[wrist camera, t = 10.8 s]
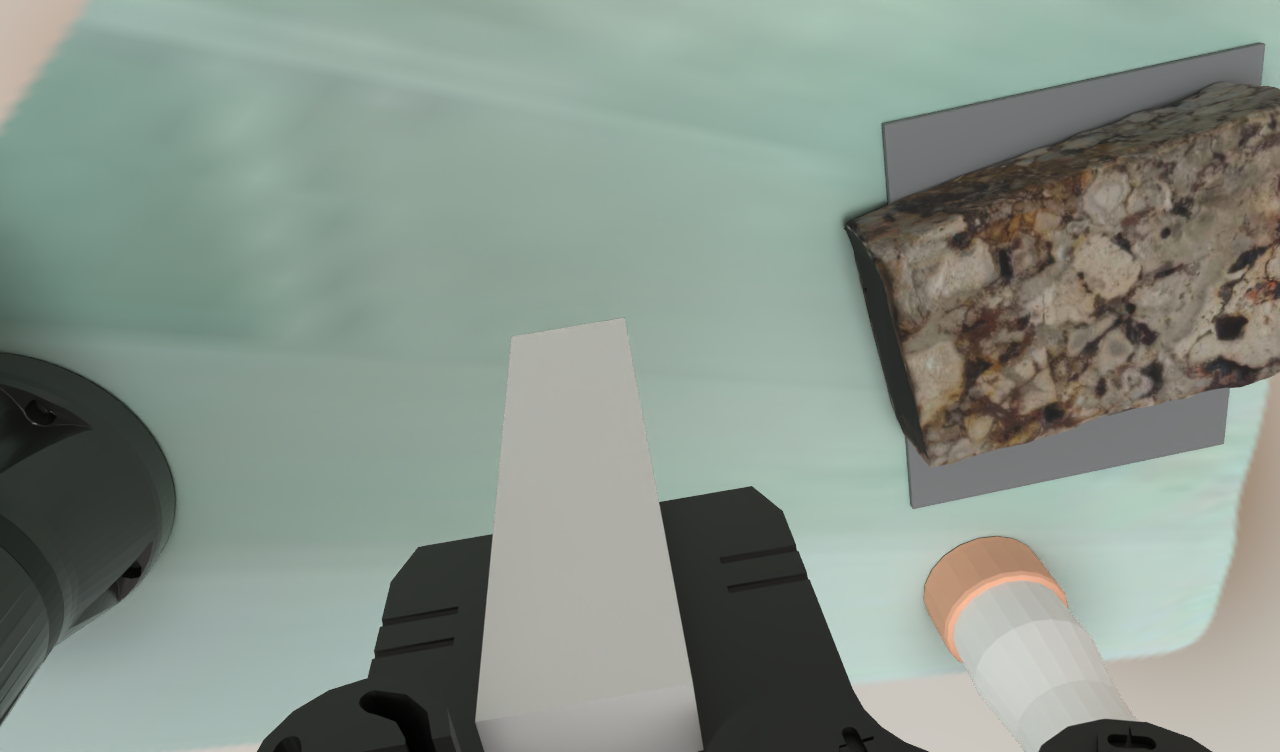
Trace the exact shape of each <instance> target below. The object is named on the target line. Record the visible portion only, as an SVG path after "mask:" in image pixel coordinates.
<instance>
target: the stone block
mask: <svg viewBox="0 0 1280 752" xmlns="http://www.w3.org/2000/svg"><path fill="white" fill-rule="evenodd" d="M844 229H845V230H846V232H847V234H848V236H849V239H850V241H851V244H852V247H853V249H854V254H855V259H856V264H857V267H858V271H859V275H860V281H861V285H862V288H863V292H864V296H865V300H866V305H867V309H868V313H869V318H870V322H871V326H872V330H873V334H874V338H875V342H876V345H877V349H878V353H879V356H880V360H881V364H882V367H883V371H884V375H885V379H886V382H887V386H888V391H889V395H890V399H891V403H892V406H893V409H894V411H895V414H896V417H897V420H898V421H899V423H900V426H901V429H902V431H903V433H904V435H905V436H906V437H907V438H908V439H909V441H910V442H911V444H912V445H913V446H914V447H915V449H916V450H917V452H918V454H919V455H920V456H921V457H922V459H923V460H924V461H925V462H926V463H927V464H928V465H929V467H935V466H943V465H948V464H952V463H956V462H959V461H961V460H963V459H966V458H969V457H973V456H977V455H980V454H983V453H987V452H990V451H994V450H998V449H1001V448H1007V447H1012V446H1015V445H1023V444H1026V443H1029V442H1032V441H1034V440H1037V439H1040V438H1044V437H1048V436H1052V435H1056V434H1059V433H1062V432H1065V431H1069V430H1072V429H1074V428H1076V427H1078V426H1080V425H1082V424H1083V423H1087V422H1090V421H1093V420H1095V419H1097V418H1100V417H1102V416H1110V415H1114V414H1117V413H1121V412H1124V411H1127V410H1131V409H1137V408H1144V407H1149V406H1153V405H1159V404H1162V403H1165V402H1168V401H1173V400H1179V399H1187V398H1189V397H1191V396H1194V395H1196V394H1199V393H1201V392H1205V391H1210V390H1214V389H1221V388H1235V387H1242V386H1246V385H1249V384H1252V383H1254V382H1257V381H1259V380H1263V379H1267V378H1270V377H1272V376H1274V375H1276V374H1278V373H1280V89H1278V88H1275V87H1269V86H1258V85H1252V84H1244V83H1242V84H1237V85H1236V84H1233V83H1229V82H1220V83H1215V84H1212V85H1210V86H1208V87H1206V88H1204V89H1202V90H1200V91H1199V92H1198V93H1196V94H1195V95H1192V96H1190V97H1188V98H1186V99H1185V100H1183V101H1181V102H1178V103H1174V104H1171V105H1167V106H1163V107H1159V108H1155V109H1151V110H1147V111H1143V112H1139V113H1134V114H1132V115H1130V116H1128V117H1126V118H1124V119H1122V120H1121V121H1119V122H1116V123H1114V124H1110V125H1107V126H1104V127H1101V128H1098V129H1095V130H1090V131H1086V132H1082V133H1079V134H1076V135H1074V136H1072V137H1071V138H1069V139H1068V140H1067V141H1065V142H1063V143H1060V144H1057V145H1054V146H1050V147H1044V148H1039V149H1035V150H1033V151H1030V152H1028V153H1026V154H1023V155H1021V156H1019V157H1017V158H1014V159H1010V160H1007V161H1003V162H1000V163H998V164H995V165H992V166H989V167H986V168H983V169H981V170H978V171H975V172H971V173H968V174H965V175H962V176H960V177H958V178H956V179H954V180H952V181H949V182H947V183H944V184H942V185H939V186H937V187H934V188H932V189H930V190H927V191H925V192H921V193H916V194H913V195H910V196H908V197H905V198H903V199H901V200H899V201H897V202H895V203H892V204H890V205H887V206H884V207H882V208H880V209H878V210H875V211H873V212H870V213H868V214H866V215H863V216H861V217H858V218H856V219H852V220H850V221H849V222H848V223H847V224H846V225H845V228H844Z"/></svg>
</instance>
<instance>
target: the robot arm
mask: <svg viewBox="0 0 1280 752" xmlns="http://www.w3.org/2000/svg"><path fill="white" fill-rule="evenodd" d="M174 514H175V493H174V487H173V482H172V478H171V474H170V471H169V468H168V466H167V463H166V461H165V459H164V456H163V454H162V453H161V451H160V449H159V447H158V445H157V444H156V442H155V441H154V439H153V438H152V436H151V435H150V434H149V432H148V431H147V430H146V428H145V427H144V426H143V425H142V424H141V422H140V421H139V420H138V419H137V418H136V417H135V416H134V415H133V414H132V413H131V412H130V411H129V410H128V409H127V408H126V407H125V406H123V405H122V404H121V403H120V402H119V401H117V400H116V399H115V398H114V397H112V396H111V395H110V394H108V393H107V392H105V391H104V390H103V389H101V388H99V387H98V386H96V385H95V384H93V383H91V382H90V381H88V380H86V379H84V378H82V377H80V376H78V375H76V374H74V373H72V372H70V371H68V370H65V369H63V368H60V367H58V366H55V365H52V364H49V363H46V362H43V361H40V360H36V359H32V358H28V357H23V356H18V355H12V354H5V353H0V727H1V725H2V724H3V722H4V721H5V719H6V718H7V716H8V715H9V713H10V712H11V710H12V709H13V707H14V706H15V704H16V703H17V701H18V700H19V698H20V697H21V695H22V694H23V692H24V691H25V689H26V688H27V686H28V684H29V683H30V681H31V680H32V678H33V677H34V675H35V674H36V672H37V671H38V669H39V668H40V666H41V665H42V663H43V662H44V660H45V659H46V657H47V656H48V655H49V653H50V652H51V650H52V649H53V648H54V647H55V646H56V645H58V644H59V643H61V642H62V641H63V640H65V639H66V638H68V637H69V636H71V635H72V634H74V633H75V632H77V631H78V630H80V629H81V628H82V627H84V626H85V625H87V624H88V623H90V622H91V621H93V620H94V619H96V618H97V617H99V616H100V615H101V614H103V613H104V612H106V611H107V610H109V609H110V608H112V607H113V606H115V605H116V604H118V603H119V602H120V601H122V600H123V599H124V598H125V597H127V596H128V595H129V594H130V593H131V592H132V591H133V590H134V589H135V588H136V587H137V586H138V585H139V584H140V582H141V581H142V580H143V579H144V578H145V576H146V575H147V573H148V572H149V570H150V569H151V567H152V566H153V564H154V562H155V561H156V559H157V558H158V556H159V554H160V553H161V551H162V550H163V548H164V546H165V544H166V542H167V540H168V538H169V535H170V532H171V529H172V526H173V521H174ZM382 622H383V627H380V629H379V633H378V637H377V642H376V646H375V650H374V652H375V659H372V662H371V666H370V671H369V675H368V679H364V680H360V681H357V682H354V683H351V684H348V685H344V686H341V687H338V688H335V689H332V690H329V691H327V692H325V693H324V694H322V695H320V696H318V697H317V698H315V699H313V700H312V701H310V702H308V703H307V704H305V705H303V706H302V707H300V708H298V709H296V710H295V711H293V712H292V713H291V714H290V715H289V716H288V717H287V718H286V719H285V720H284V721H283V722H282V723H281V724H280V725H279V726H278V727H277V728H276V729H274V730H273V731H272V732H271V733H270V734H269V735H268V736H267V737H266V738H265V739H264V740H263V742H262V744H261V746H260V747H259V749H258V751H257V752H928V751H926V750H923V749H921V748H918V747H916V746H913V745H911V744H908V743H906V742H904V741H902V740H901V739H899V738H898V737H896V736H895V735H893V734H892V733H890V732H889V731H887V730H885V729H884V728H882V727H881V726H880V725H879V724H878V723H877V722H876V721H875V720H874V719H873V718H872V717H871V716H870V715H869V714H868V713H867V712H866V711H865V710H864V708H863V707H862V705H861V703H860V701H859V700H858V698H857V696H856V694H855V693H854V691H853V689H852V686H851V684H850V681H849V679H848V676H847V674H846V671H845V668H844V666H843V663H842V661H841V658H840V656H839V653H838V651H837V648H836V646H835V643H834V641H833V638H832V635H831V633H830V630H829V628H828V625H827V623H826V620H825V618H824V615H823V613H822V610H821V607H820V605H819V602H818V600H817V597H816V595H815V592H814V590H813V587H812V585H811V582H810V580H808V577H807V572H806V569H805V567H804V564H803V562H802V559H801V557H800V554H799V552H798V551H797V549H796V544H795V541H794V539H793V536H792V534H791V531H790V529H789V526H788V524H787V521H786V519H785V516H784V513H783V511H782V510H781V509H779V508H778V507H777V506H776V505H774V504H773V503H772V502H771V501H770V500H768V499H767V498H766V497H765V496H763V495H762V494H761V493H760V492H758V491H757V490H756V489H755V488H753V487H752V486H750V487H744V488H739V489H733V490H727V491H721V492H715V493H710V494H704V495H698V496H692V497H686V498H681V499H675V500H669V501H663V502H659V500H658V494H657V489H656V484H655V478H654V473H653V468H652V462H651V457H650V451H649V446H648V441H647V435H646V430H645V425H644V419H643V414H642V409H641V403H640V398H639V392H638V387H637V382H636V376H635V371H634V366H633V360H632V355H631V350H630V344H629V339H628V334H627V328H626V323H625V317H624V318H618V319H612V320H606V321H601V322H595V323H589V324H583V325H577V326H571V327H565V328H559V329H553V330H548V331H542V332H536V333H530V334H524V335H518V336H512V338H511V348H510V359H509V369H508V380H507V390H506V401H505V412H504V422H503V433H502V443H501V454H500V464H499V475H498V486H497V496H496V507H495V517H494V528H493V534H491V535H485V536H480V537H474V538H468V539H462V540H456V541H451V542H445V543H439V544H433V545H427V546H422V547H418V548H417V549H416V551H415V552H414V553H413V555H412V556H411V557H410V558H409V560H408V561H407V562H406V563H405V565H404V566H403V567H402V569H401V570H400V571H399V572H398V574H397V575H396V576H395V578H394V579H393V580H392V581H391V584H390V588H389V592H388V596H387V600H386V604H385V609H384V613H383V617H382ZM1038 752H1212V751H1210V750H1209V749H1207V748H1206V747H1204V746H1203V745H1201V744H1199V743H1198V742H1196V741H1195V740H1193V739H1192V738H1189V737H1187V736H1184V735H1181V734H1178V733H1175V732H1173V731H1170V730H1167V729H1164V728H1162V727H1158V726H1156V725H1153V724H1150V723H1147V722H1137V721H1126V720H1115V719H1100V720H1095V721H1091V722H1086V723H1081V724H1077V725H1072V726H1068V727H1066V728H1065V729H1063V730H1062V731H1061V732H1059V733H1058V734H1056V735H1055V736H1054V737H1052V738H1051V739H1049V740H1048V741H1046V742H1045V743H1044V744H1042V745H1041V747H1040V749H1039V751H1038Z"/></svg>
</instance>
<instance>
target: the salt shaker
mask: <svg viewBox="0 0 1280 752" xmlns="http://www.w3.org/2000/svg"><path fill="white" fill-rule="evenodd" d="M924 602H925V605H926V608H927V611H928V613H929V615H930V617H931V619H932V621H933V623H934V625H935V626H936V628H937V630H938V632H939V634H940V636H941V637H942V639H943V641H944V643H945V645H946V647H947V648H948V650H949V651H950V652H951V654H952V655H953V656H954V657H955V658H956V659H957V660H958V661H959V662H961V663H963V664H964V666H965V668H966V670H967V672H968V674H969V676H970V678H971V679H972V682H973V684H974V685H975V688H976V689H977V692H978V693H979V695H980V696H981V698H982V699H983V700H984V701H985V703H986V704H987V705H988V706H989V708H990V709H991V710H992V711H993V712H994V714H995V715H996V716H997V717H998V719H999V720H1000V721H1001V722H1002V723H1003V725H1004V726H1005V727H1006V728H1007V730H1008V731H1009V732H1010V733H1011V735H1012V736H1013V737H1014V738H1015V740H1016V741H1017V742H1018V743H1019V744H1020V746H1021V748H1022V749H1023V751H1024V752H1038V751H1039V749H1040V747H1041V745H1042V744H1044V743H1045V742H1046V741H1048V740H1049V739H1051V738H1052V737H1054V736H1055V735H1056V734H1058V733H1059V732H1061V731H1062V730H1063V729H1065V728H1066V727H1068V726H1072V725H1077V724H1081V723H1086V722H1091V721H1095V720H1100V719H1115V720H1126V721H1137V722H1139V721H1138V720H1137V719H1136V717H1135V716H1134V715H1133V713H1132V712H1131V711H1130V709H1129V708H1128V706H1127V705H1126V703H1125V702H1124V701H1123V699H1122V698H1121V696H1120V694H1119V692H1118V690H1117V688H1116V686H1115V684H1114V682H1113V680H1112V678H1111V676H1110V674H1109V672H1108V670H1107V668H1106V666H1105V664H1104V662H1103V660H1102V657H1101V655H1100V653H1099V651H1098V649H1097V647H1096V645H1095V643H1094V641H1093V639H1092V638H1091V637H1090V636H1089V635H1088V633H1087V632H1086V631H1085V630H1084V628H1083V627H1082V626H1081V625H1080V623H1079V622H1078V621H1077V620H1076V618H1075V617H1074V616H1073V615H1072V613H1071V612H1070V611H1069V610H1068V605H1067V601H1066V597H1065V593H1064V592H1063V590H1062V589H1061V588H1060V586H1059V585H1058V584H1057V582H1056V581H1055V580H1054V578H1053V577H1052V576H1051V575H1050V573H1049V572H1048V571H1047V569H1046V568H1045V567H1044V565H1043V564H1042V563H1041V561H1040V560H1039V559H1038V557H1037V556H1036V555H1035V554H1034V553H1033V551H1032V550H1031V549H1030V548H1029V547H1028V546H1026V545H1025V544H1023V543H1021V542H1019V541H1017V540H1015V539H1011V538H1004V537H998V536H996V537H987V538H978V539H976V540H973V541H970V542H968V543H965V544H962V545H960V546H958V547H957V548H955V549H954V550H952V551H951V552H949V553H948V554H947V555H945V556H944V557H943V558H942V559H941V560H940V561H939V562H938V564H937V565H936V566H935V567H934V568H933V569H932V571H931V573H930V575H929V577H928V580H927V582H926V584H925V591H924Z"/></svg>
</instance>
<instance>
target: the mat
mask: <svg viewBox="0 0 1280 752" xmlns="http://www.w3.org/2000/svg"><path fill="white" fill-rule="evenodd" d="M1264 51H1265V44H1264V43H1256V44H1251V45H1246V46H1242V47H1237V48H1232V49H1228V50H1223V51H1218V52H1213V53H1209V54H1204V55H1199V56H1195V57H1190V58H1185V59H1181V60H1176V61H1171V62H1167V63H1162V64H1157V65H1153V66H1148V67H1143V68H1139V69H1134V70H1129V71H1125V72H1120V73H1115V74H1111V75H1106V76H1101V77H1097V78H1092V79H1087V80H1083V81H1078V82H1073V83H1069V84H1064V85H1059V86H1055V87H1050V88H1045V89H1041V90H1036V91H1031V92H1026V93H1022V94H1017V95H1012V96H1008V97H1003V98H998V99H994V100H989V101H984V102H980V103H975V104H970V105H966V106H961V107H956V108H952V109H947V110H942V111H938V112H933V113H928V114H924V115H919V116H914V117H910V118H905V119H900V120H896V121H891V122H886V123H882V133H883V146H884V159H885V172H886V186H887V199H888V205H890V204H892V203H895V202H897V201H899V200H901V199H903V198H905V197H908V196H910V195H913V194H916V193H921V192H925V191H927V190H930V189H932V188H934V187H937V186H939V185H942V184H944V183H947V182H949V181H952V180H954V179H956V178H958V177H960V176H962V175H965V174H968V173H971V172H975V171H978V170H981V169H983V168H986V167H989V166H992V165H995V164H998V163H1000V162H1003V161H1007V160H1010V159H1014V158H1017V157H1019V156H1021V155H1023V154H1026V153H1028V152H1030V151H1033V150H1035V149H1039V148H1044V147H1050V146H1054V145H1057V144H1060V143H1063V142H1065V141H1067V140H1068V139H1069V138H1071V137H1072V136H1074V135H1076V134H1079V133H1082V132H1086V131H1090V130H1095V129H1098V128H1101V127H1104V126H1107V125H1110V124H1114V123H1116V122H1119V121H1121V120H1122V119H1124V118H1126V117H1128V116H1130V115H1132V114H1134V113H1139V112H1143V111H1147V110H1151V109H1155V108H1159V107H1163V106H1167V105H1171V104H1174V103H1178V102H1181V101H1183V100H1185V99H1186V98H1188V97H1190V96H1192V95H1195V94H1196V93H1198V92H1199V91H1200V90H1202V89H1204V88H1206V87H1208V86H1210V85H1212V84H1215V83H1220V82H1229V83H1233V84H1236V85H1237V84H1242V83H1244V84H1252V85H1258V86H1261V80H1262V70H1263V61H1264ZM1229 389H1230V388H1221V389H1214V390H1210V391H1205V392H1201V393H1199V394H1196V395H1194V396H1191V397H1189V398H1187V399H1179V400H1173V401H1168V402H1165V403H1162V404H1159V405H1153V406H1149V407H1144V408H1137V409H1131V410H1127V411H1124V412H1121V413H1117V414H1114V415H1110V416H1102V417H1100V418H1097V419H1095V420H1093V421H1090V422H1087V423H1083V424H1082V425H1080V426H1078V427H1076V428H1074V429H1072V430H1069V431H1065V432H1062V433H1059V434H1056V435H1052V436H1048V437H1044V438H1040V439H1037V440H1034V441H1032V442H1029V443H1026V444H1023V445H1015V446H1012V447H1007V448H1001V449H998V450H994V451H990V452H987V453H983V454H980V455H977V456H973V457H969V458H966V459H963V460H961V461H959V462H956V463H952V464H948V465H943V466H935V467H929V465H928V464H927V463H926V462H925V461H924V460H923V459H922V457H921V456H920V455H919V454H918V452H917V450H916V449H915V447H914V446H913V445H912V444H911V442H910V441H909V439H908V438H907V437H906V436H905V438H906V451H907V464H908V478H909V491H910V504H911V507H912V508H913V509H916V508H920V507H925V506H930V505H935V504H939V503H944V502H949V501H954V500H959V499H963V498H968V497H973V496H978V495H982V494H987V493H992V492H997V491H1001V490H1006V489H1011V488H1016V487H1021V486H1025V485H1030V484H1035V483H1040V482H1044V481H1049V480H1054V479H1059V478H1063V477H1068V476H1073V475H1078V474H1083V473H1087V472H1092V471H1097V470H1102V469H1106V468H1111V467H1116V466H1121V465H1125V464H1130V463H1135V462H1140V461H1145V460H1149V459H1154V458H1159V457H1164V456H1168V455H1173V454H1178V453H1183V452H1187V451H1192V450H1197V449H1202V448H1207V447H1211V446H1216V445H1221V444H1224V437H1225V427H1226V418H1227V408H1228V398H1229Z"/></svg>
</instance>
